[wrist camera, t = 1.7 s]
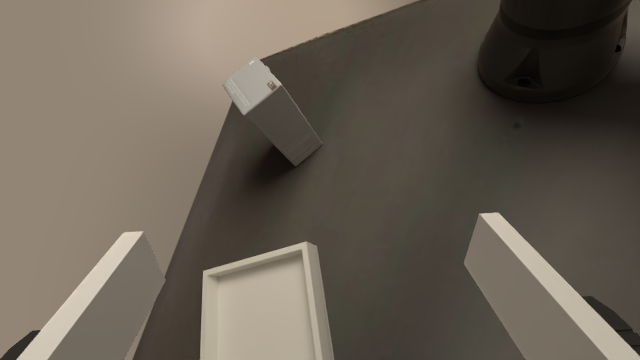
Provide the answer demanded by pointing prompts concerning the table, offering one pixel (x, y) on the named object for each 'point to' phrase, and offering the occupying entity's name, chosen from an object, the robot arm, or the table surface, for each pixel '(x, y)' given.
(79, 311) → the robot arm
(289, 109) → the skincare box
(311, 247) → the tray
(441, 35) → the table surface
